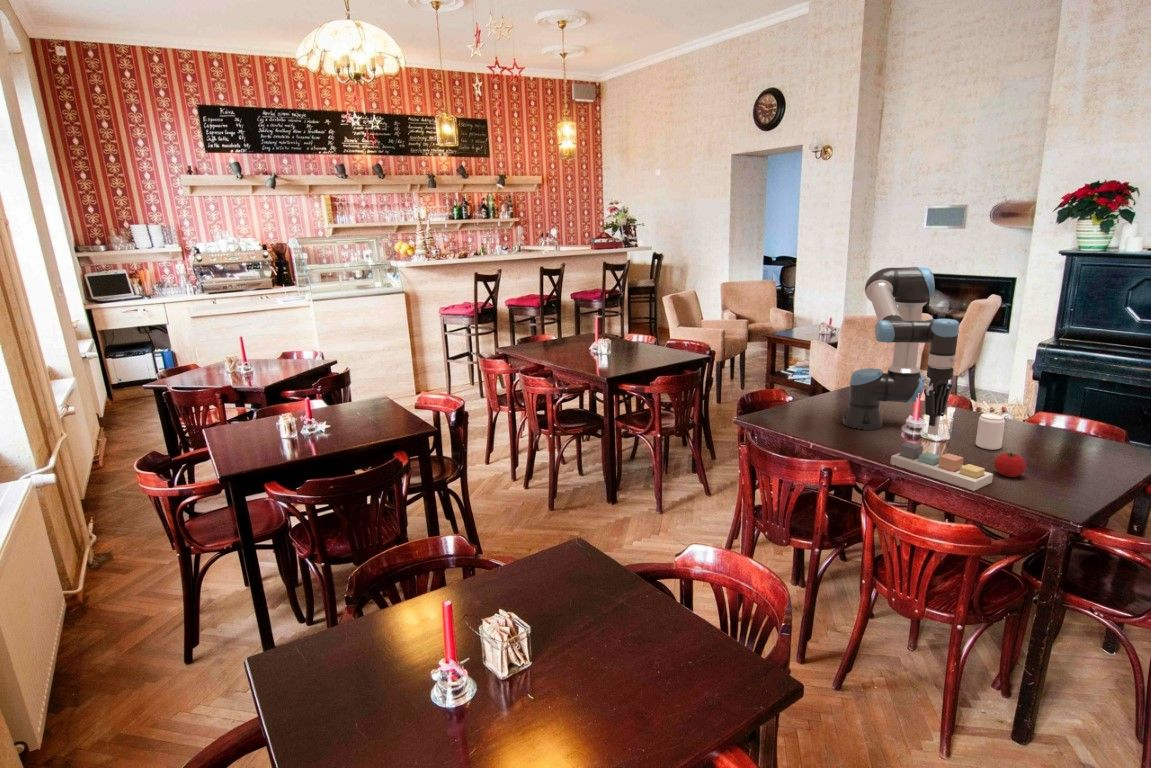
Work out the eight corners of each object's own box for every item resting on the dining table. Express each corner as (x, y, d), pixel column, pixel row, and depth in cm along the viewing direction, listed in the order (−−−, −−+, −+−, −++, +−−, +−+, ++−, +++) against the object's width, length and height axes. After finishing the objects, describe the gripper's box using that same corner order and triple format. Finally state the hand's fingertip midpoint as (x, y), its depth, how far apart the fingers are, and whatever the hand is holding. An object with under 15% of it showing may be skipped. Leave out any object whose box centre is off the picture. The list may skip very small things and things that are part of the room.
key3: (938, 468, 210) (939, 456, 209) (946, 465, 212) (948, 453, 211) (953, 473, 206) (955, 460, 205) (961, 469, 208) (963, 457, 207)
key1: (899, 456, 221) (900, 445, 220) (907, 453, 224) (909, 442, 222) (913, 461, 217) (914, 449, 216) (921, 457, 219) (923, 446, 218)
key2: (917, 467, 216) (919, 455, 215) (926, 463, 218) (927, 452, 217) (932, 471, 212) (933, 459, 211) (940, 468, 214) (942, 456, 213)
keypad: (890, 463, 221) (891, 455, 220) (908, 457, 227) (909, 449, 226) (973, 490, 198) (975, 482, 197) (991, 482, 204) (993, 473, 203)
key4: (958, 479, 205) (960, 467, 203) (967, 476, 207) (968, 463, 206) (974, 485, 200) (976, 472, 199) (983, 481, 203) (984, 468, 202)
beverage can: (993, 443, 237) (998, 412, 234) (1005, 450, 230) (1010, 419, 227) (971, 443, 238) (975, 412, 235) (982, 450, 230) (986, 419, 227)
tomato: (1013, 482, 203) (1016, 459, 201) (986, 472, 211) (989, 450, 209) (1030, 477, 207) (1034, 454, 205) (1003, 468, 214) (1006, 446, 212)
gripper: (941, 371, 201) (932, 441, 207) (963, 365, 207) (954, 433, 213) (918, 367, 207) (910, 435, 213) (940, 361, 213) (932, 427, 219)
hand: (932, 433), depth 213 cm, fingers closed
